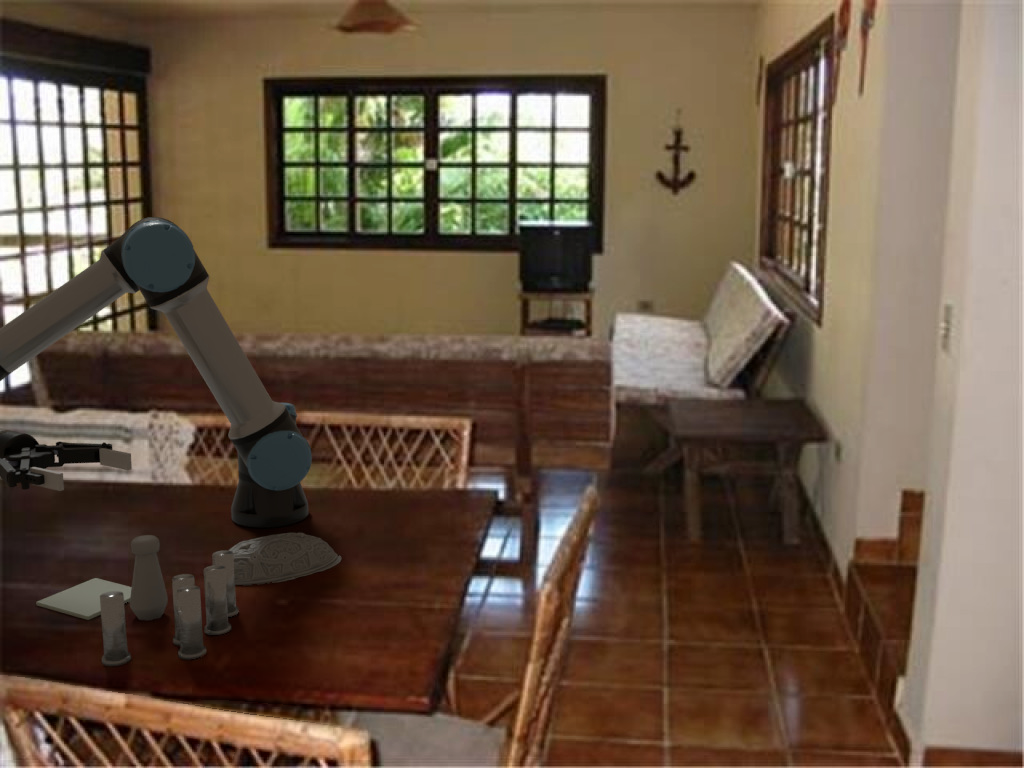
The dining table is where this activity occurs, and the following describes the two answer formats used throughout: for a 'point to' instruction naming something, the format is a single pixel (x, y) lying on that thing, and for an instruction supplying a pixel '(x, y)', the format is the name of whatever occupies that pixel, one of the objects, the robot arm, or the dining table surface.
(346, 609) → the dining table surface
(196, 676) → the dining table surface
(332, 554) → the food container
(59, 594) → the coaster
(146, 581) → the salt shaker
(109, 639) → the spacers
